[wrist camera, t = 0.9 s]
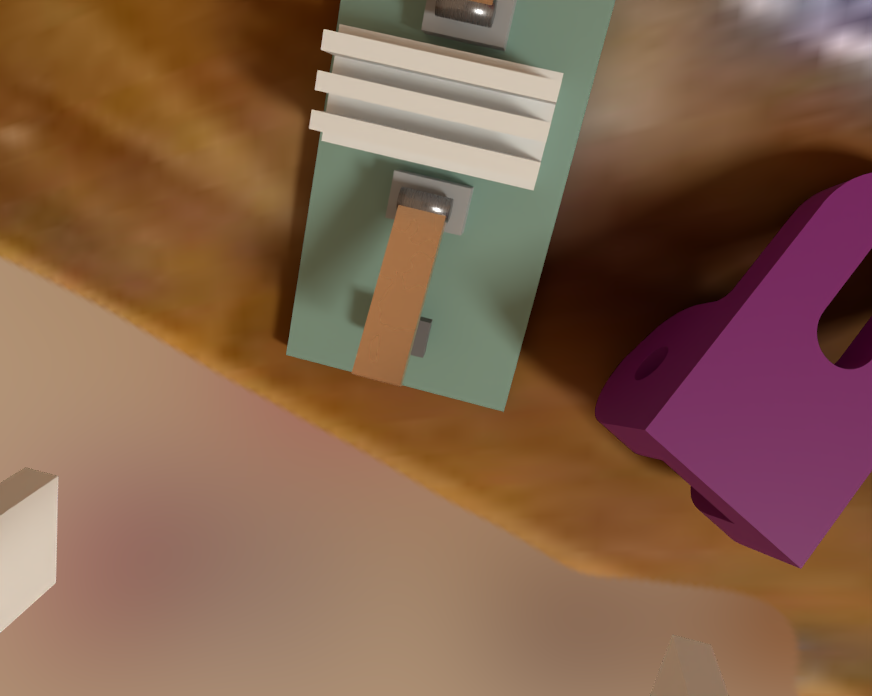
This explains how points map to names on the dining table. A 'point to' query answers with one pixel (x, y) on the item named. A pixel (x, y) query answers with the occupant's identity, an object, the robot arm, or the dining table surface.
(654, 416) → the mounting bracket
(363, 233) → the board
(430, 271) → the strap
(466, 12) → the strap
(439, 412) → the dining table surface
